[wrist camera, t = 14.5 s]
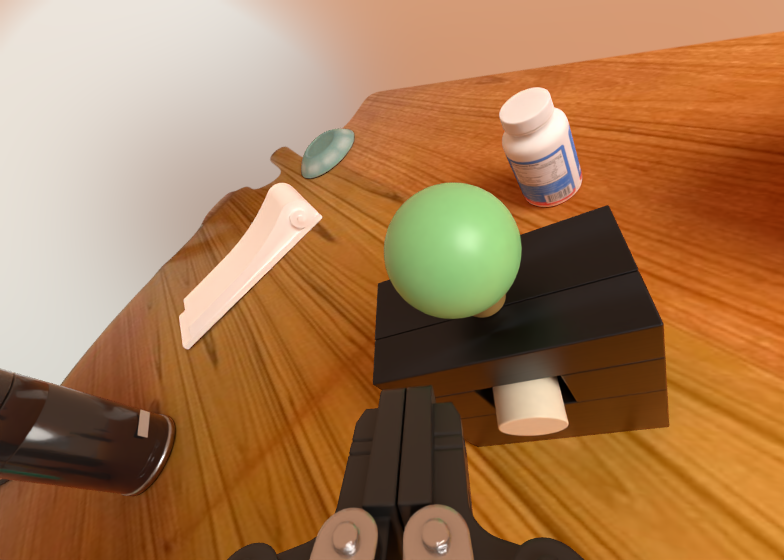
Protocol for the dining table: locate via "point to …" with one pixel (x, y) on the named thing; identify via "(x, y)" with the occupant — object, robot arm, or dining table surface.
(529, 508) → the dining table surface
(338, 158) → the saucer
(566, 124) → the pill bottle
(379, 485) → the robot arm
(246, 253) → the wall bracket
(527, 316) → the dark block with knob
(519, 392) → the stubby beige cylinder
